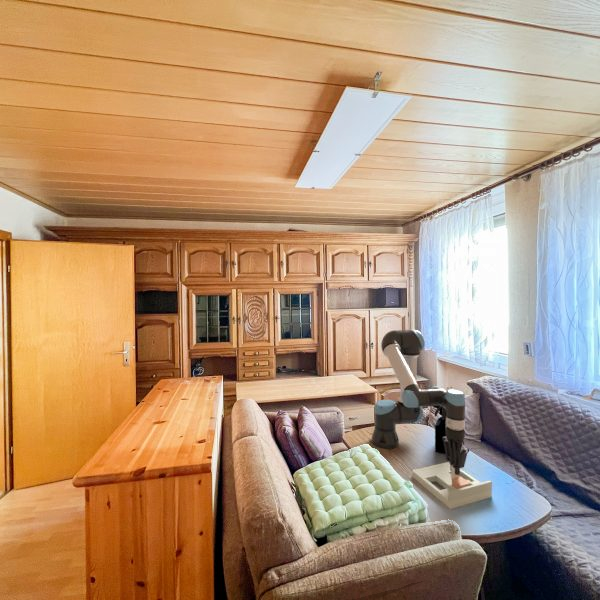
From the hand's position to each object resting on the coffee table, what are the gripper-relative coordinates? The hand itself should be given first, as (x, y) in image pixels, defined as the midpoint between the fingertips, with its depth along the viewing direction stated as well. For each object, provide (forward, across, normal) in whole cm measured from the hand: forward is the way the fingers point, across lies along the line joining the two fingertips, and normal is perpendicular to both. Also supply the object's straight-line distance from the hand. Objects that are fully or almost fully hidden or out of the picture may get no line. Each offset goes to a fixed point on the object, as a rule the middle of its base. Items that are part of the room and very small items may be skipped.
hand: (454, 480), depth 135 cm
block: (+1, +3, 0) cm, 3 cm away
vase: (+5, -28, +22) cm, 36 cm away
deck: (+4, -3, 0) cm, 5 cm away
